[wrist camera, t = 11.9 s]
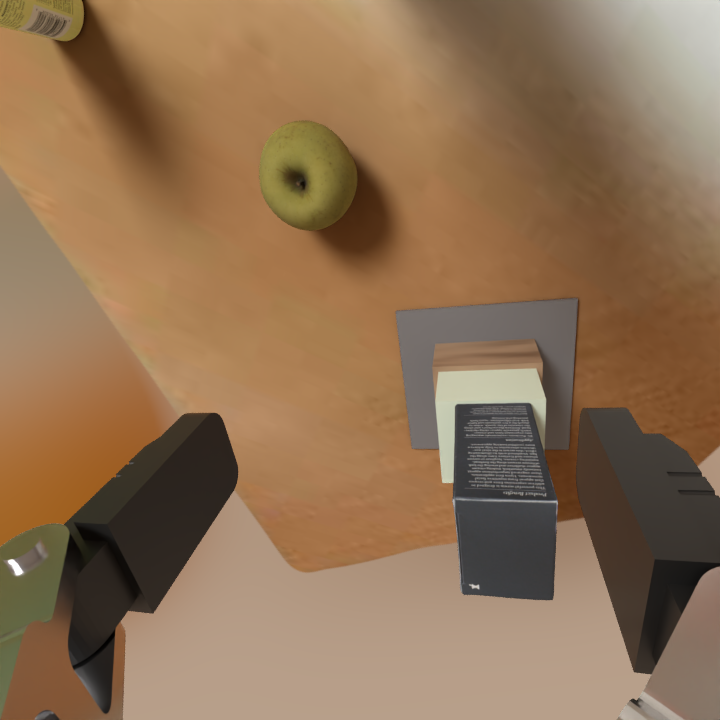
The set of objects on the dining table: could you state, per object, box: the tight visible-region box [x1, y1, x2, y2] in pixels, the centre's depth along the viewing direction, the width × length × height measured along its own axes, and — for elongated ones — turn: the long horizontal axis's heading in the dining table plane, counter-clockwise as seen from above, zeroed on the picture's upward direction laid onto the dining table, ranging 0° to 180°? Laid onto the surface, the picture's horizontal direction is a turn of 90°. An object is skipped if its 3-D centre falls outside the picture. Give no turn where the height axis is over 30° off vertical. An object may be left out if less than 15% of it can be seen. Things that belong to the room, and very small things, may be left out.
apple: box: [259, 121, 358, 231], centre depth 35 cm, size 8×8×7 cm
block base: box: [432, 339, 543, 399], centre depth 41 cm, size 9×9×5 cm
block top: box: [435, 368, 546, 483], centre depth 37 cm, size 8×8×5 cm
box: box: [452, 403, 558, 600], centre depth 30 cm, size 8×6×11 cm
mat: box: [396, 298, 578, 450], centre depth 44 cm, size 16×16×1 cm
